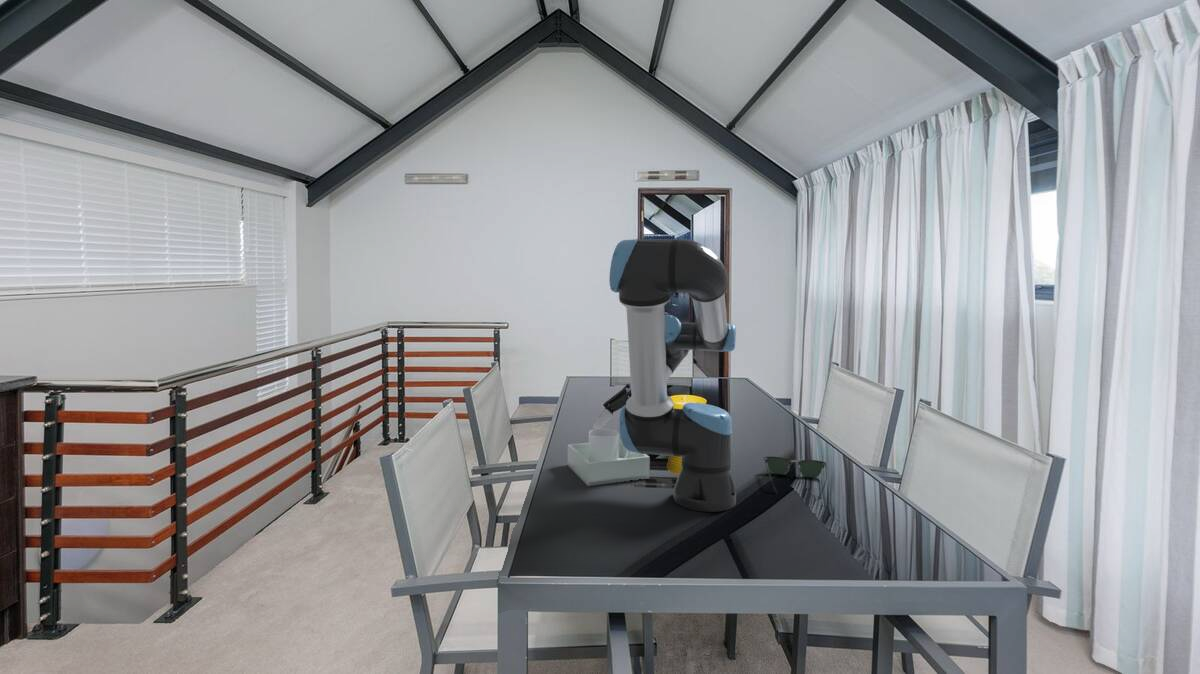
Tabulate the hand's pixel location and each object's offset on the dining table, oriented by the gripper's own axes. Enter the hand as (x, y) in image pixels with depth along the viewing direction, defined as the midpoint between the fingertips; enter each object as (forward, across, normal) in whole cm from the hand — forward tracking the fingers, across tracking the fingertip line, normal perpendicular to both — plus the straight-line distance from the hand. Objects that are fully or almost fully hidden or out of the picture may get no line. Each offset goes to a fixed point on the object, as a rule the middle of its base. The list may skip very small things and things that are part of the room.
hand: (608, 435), depth 163 cm
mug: (+7, -1, -6) cm, 9 cm away
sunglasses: (-19, -34, -34) cm, 52 cm away
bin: (+8, 0, -7) cm, 10 cm away
